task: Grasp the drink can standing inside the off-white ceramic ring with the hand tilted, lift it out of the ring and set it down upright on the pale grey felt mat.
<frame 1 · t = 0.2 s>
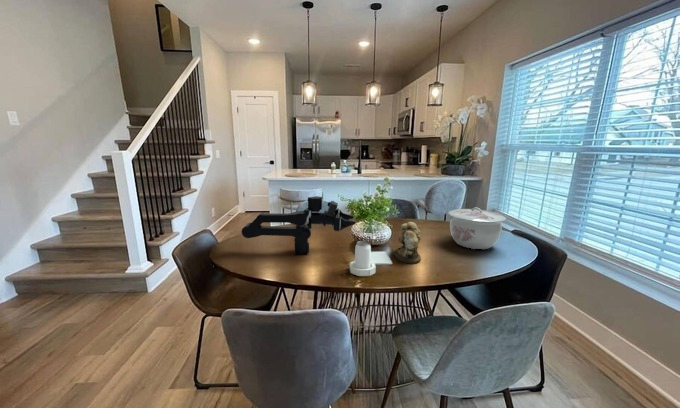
hand: (354, 219, 137), 16 cm above the table, tool horizontal, fingers open, 9 cm apart
owl figurine: (406, 257, 136), on the table
can: (362, 271, 120), resting in ring
chamber pot: (472, 245, 153), on the table
ring: (362, 270, 120), on the table
mat: (373, 258, 133), on the table
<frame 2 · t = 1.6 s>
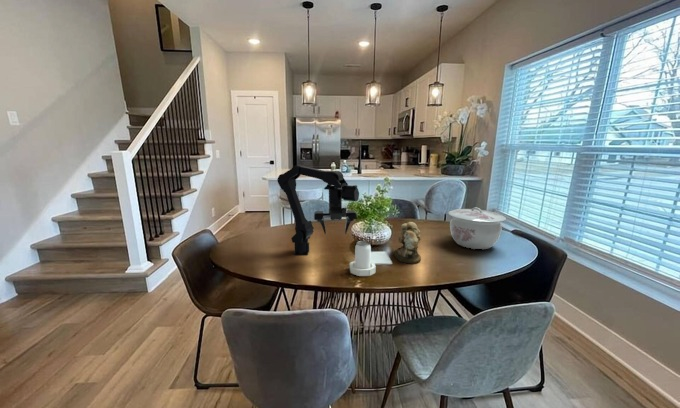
hand: (335, 233, 130), 12 cm above the table, tool pointing down, fingers open, 9 cm apart
nothing on the table moved.
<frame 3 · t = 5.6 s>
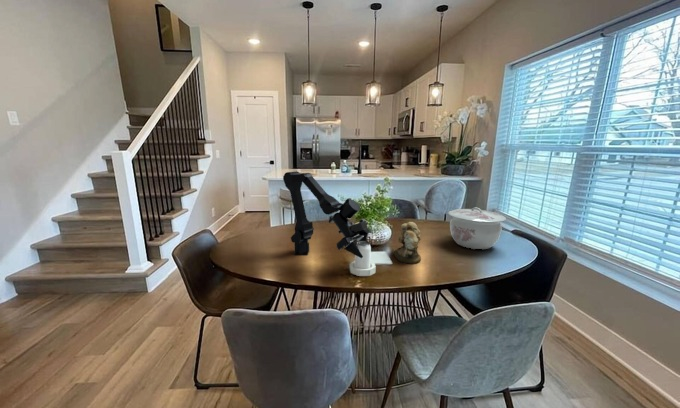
hand: (365, 255, 118), 7 cm above the table, tool tilted 45°, fingers closed on can, 6 cm apart
can: (362, 270, 120), resting in ring, touching gripper
everything else where it was.
when the fingers open (8 cm above the table, at t = 9.0 s): can stays where it is, resting on mat.
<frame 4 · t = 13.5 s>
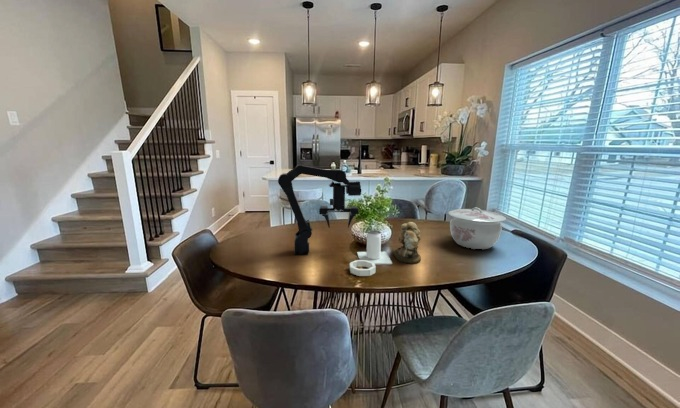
hand: (338, 227, 140), 12 cm above the table, tool pointing down, fingers open, 9 cm apart
can: (373, 257, 133), resting on mat
everything else where it was.
at the end: can inside the target area on the mat (0.2 cm from its centre), point 0.4 cm above the mat's base; can tilted 0°; the gripper is holding nothing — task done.
